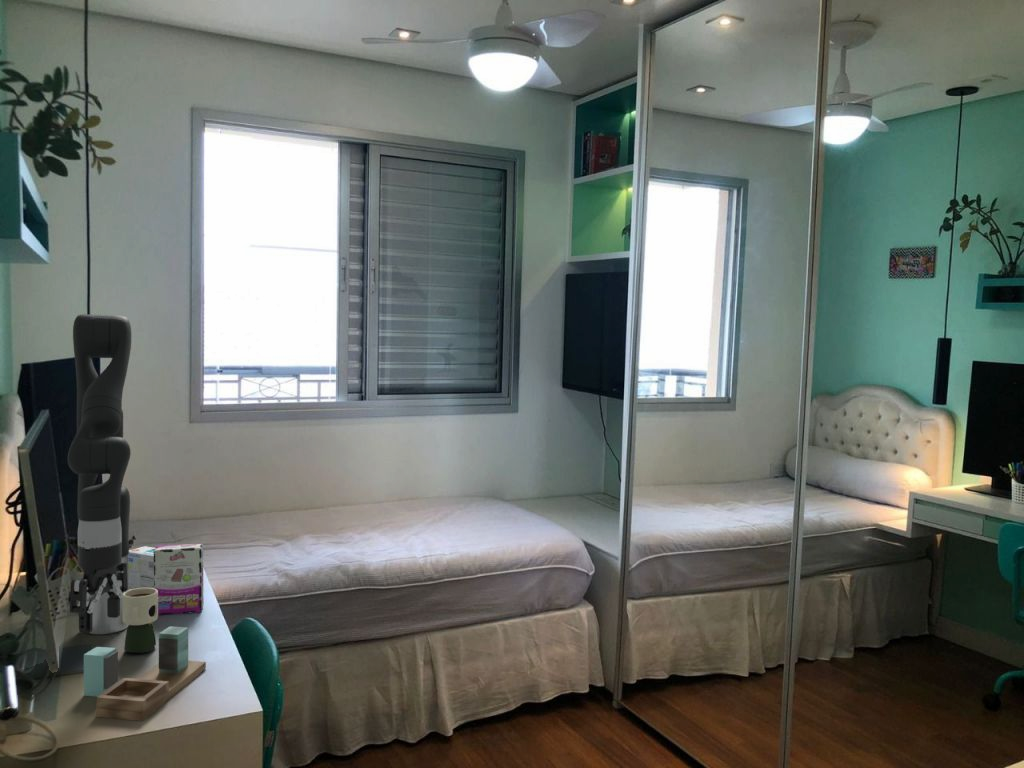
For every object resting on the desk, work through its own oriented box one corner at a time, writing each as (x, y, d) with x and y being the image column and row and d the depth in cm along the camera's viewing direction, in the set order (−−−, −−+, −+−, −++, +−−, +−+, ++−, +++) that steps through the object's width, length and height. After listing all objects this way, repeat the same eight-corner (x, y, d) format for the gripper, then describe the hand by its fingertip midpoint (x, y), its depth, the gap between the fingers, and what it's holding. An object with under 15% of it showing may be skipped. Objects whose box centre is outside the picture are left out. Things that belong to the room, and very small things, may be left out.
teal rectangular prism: (83, 695, 155) (83, 654, 154) (97, 686, 159) (96, 646, 158) (105, 697, 154) (105, 656, 154) (118, 688, 158) (118, 648, 158)
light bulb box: (175, 589, 219) (175, 549, 218) (155, 596, 213) (155, 555, 212) (145, 583, 223) (145, 545, 223) (125, 590, 217) (125, 550, 216)
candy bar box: (203, 606, 206) (204, 542, 205) (201, 612, 201) (202, 547, 200) (156, 609, 203) (156, 544, 202) (153, 615, 198) (153, 549, 197)
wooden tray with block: (95, 716, 147) (95, 665, 146) (164, 665, 169) (165, 621, 169) (142, 720, 145) (142, 669, 145) (205, 669, 168) (205, 624, 168)
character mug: (152, 659, 172) (152, 599, 172) (116, 661, 171) (116, 601, 170) (162, 640, 183) (162, 583, 182) (128, 642, 181) (128, 585, 181)
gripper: (104, 531, 162) (104, 611, 163) (56, 549, 148) (56, 636, 149) (139, 533, 162) (139, 613, 162) (94, 551, 147) (94, 639, 148)
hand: (100, 624), depth 156 cm, fingers open, 8 cm apart
